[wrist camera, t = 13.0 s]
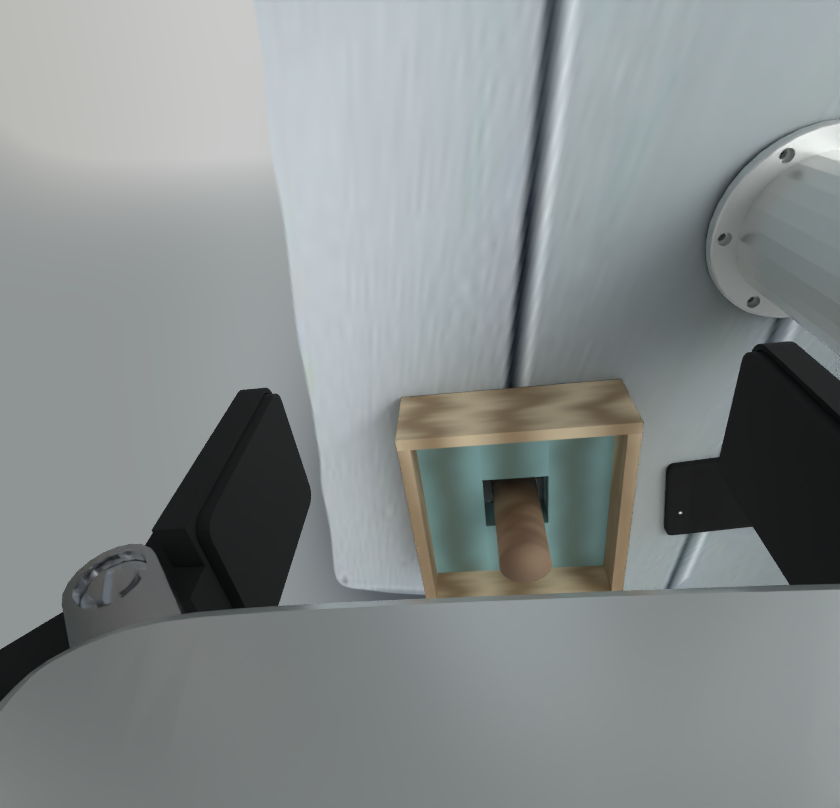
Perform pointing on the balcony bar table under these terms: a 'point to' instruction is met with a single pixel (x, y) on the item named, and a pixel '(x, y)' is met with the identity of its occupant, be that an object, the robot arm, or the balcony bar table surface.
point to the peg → (520, 530)
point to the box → (520, 458)
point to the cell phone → (699, 499)
